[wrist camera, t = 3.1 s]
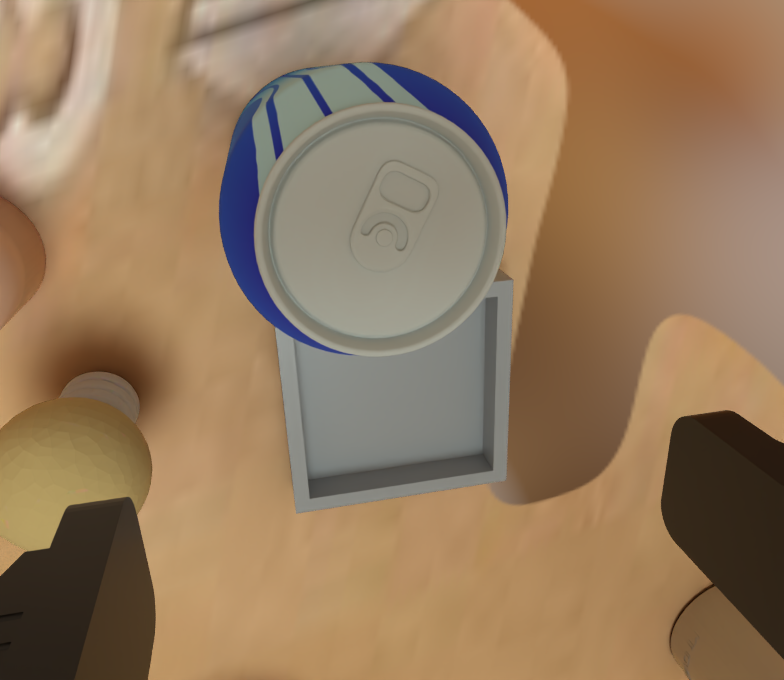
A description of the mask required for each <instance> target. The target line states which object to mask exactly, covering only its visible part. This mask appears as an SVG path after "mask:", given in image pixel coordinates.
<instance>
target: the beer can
mask: <svg viewBox="0 0 784 680" xmlns="http://www.w3.org/2000/svg"><path fill="white" fill-rule="evenodd" d="M507 220H508V194H507V184H506V179H505V174H504V169H503V166H502V163H501V159H500V156H499V154H498V151H497V149H496V146H495V144H494V142H493V140H492V138H491V136H490V135H489V133H488V131H487V129H486V128H485V126H484V125H483V123H482V122H481V120H480V119H479V118H478V116H477V115H476V114H475V113H474V112H473V111H472V109H471V108H470V107H469V106H468V105H467V104H466V103H465V102H464V101H463V100H462V99H461V98H460V97H458V96H457V95H456V94H455V93H453V92H452V91H451V90H449V89H448V88H447V87H445V86H443V85H442V84H440V83H439V82H437V81H435V80H434V79H431V78H429V77H427V76H425V75H423V74H421V73H419V72H416V71H413V70H410V69H408V68H404V67H400V66H396V65H391V64H384V63H371V62H359V63H348V64H339V65H330V66H322V67H314V68H306V69H301V70H297V71H293V72H290V73H287V74H285V75H283V76H280V77H279V78H277V79H275V80H273V81H272V82H270V83H269V84H267V85H266V86H265V87H263V88H262V89H261V90H260V91H259V92H258V93H257V94H256V95H255V96H254V97H253V98H252V99H251V100H250V102H249V103H248V104H247V106H246V107H245V108H244V110H243V112H242V114H241V115H240V117H239V119H238V122H237V124H236V126H235V129H234V132H233V135H232V140H231V144H230V149H229V153H228V158H227V162H226V167H225V171H224V176H223V180H222V185H221V191H220V200H219V222H220V232H221V238H222V243H223V247H224V251H225V254H226V257H227V260H228V263H229V265H230V268H231V270H232V273H233V275H234V277H235V279H236V281H237V283H238V285H239V286H240V288H241V290H242V291H243V293H244V294H245V296H246V297H247V299H248V300H249V301H250V302H251V304H252V305H253V306H254V307H255V308H256V310H257V311H258V312H259V313H260V314H261V315H262V316H263V317H264V318H265V319H266V320H268V321H269V322H270V323H271V324H273V325H274V326H275V327H276V328H278V329H279V330H281V331H282V332H284V333H285V334H287V335H288V336H290V337H292V338H294V339H296V340H297V341H299V342H302V343H304V344H306V345H309V346H311V347H314V348H317V349H320V350H324V351H327V352H332V353H337V354H344V355H356V356H371V357H381V356H392V355H398V354H403V353H407V352H411V351H414V350H417V349H420V348H423V347H425V346H427V345H430V344H432V343H434V342H436V341H437V340H439V339H441V338H443V337H444V336H446V335H447V334H449V333H450V332H452V331H453V330H454V329H456V328H457V327H458V326H459V325H460V324H462V323H463V322H464V321H465V320H466V319H467V318H468V317H469V316H470V315H471V314H472V313H473V311H474V310H475V309H476V308H477V307H478V306H479V304H480V303H481V301H482V300H483V299H484V297H485V296H486V294H487V292H488V290H489V289H490V287H491V285H492V283H493V281H494V279H495V277H496V274H497V272H498V269H499V266H500V263H501V260H502V256H503V252H504V246H505V240H506V229H507Z"/></svg>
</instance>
